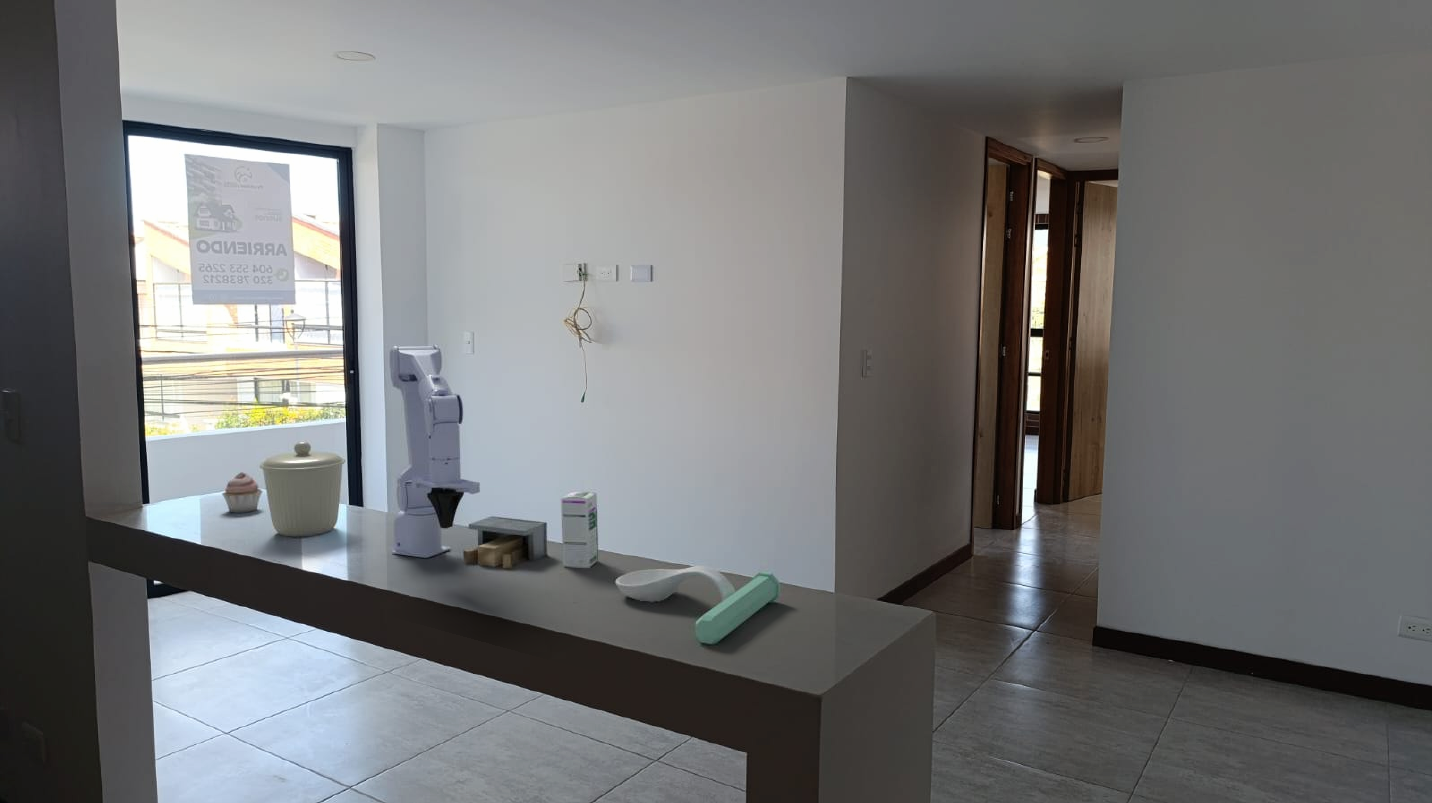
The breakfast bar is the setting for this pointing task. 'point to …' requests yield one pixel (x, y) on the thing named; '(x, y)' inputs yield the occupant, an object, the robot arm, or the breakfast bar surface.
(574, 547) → the syrup box
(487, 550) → the oak bar
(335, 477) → the canister
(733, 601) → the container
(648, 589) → the spoon rest
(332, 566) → the breakfast bar surface
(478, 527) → the awning
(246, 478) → the cupcake
